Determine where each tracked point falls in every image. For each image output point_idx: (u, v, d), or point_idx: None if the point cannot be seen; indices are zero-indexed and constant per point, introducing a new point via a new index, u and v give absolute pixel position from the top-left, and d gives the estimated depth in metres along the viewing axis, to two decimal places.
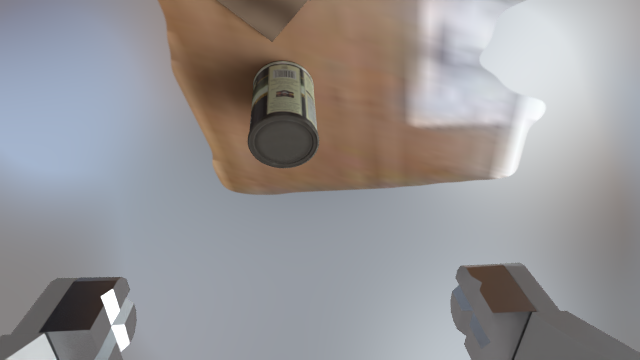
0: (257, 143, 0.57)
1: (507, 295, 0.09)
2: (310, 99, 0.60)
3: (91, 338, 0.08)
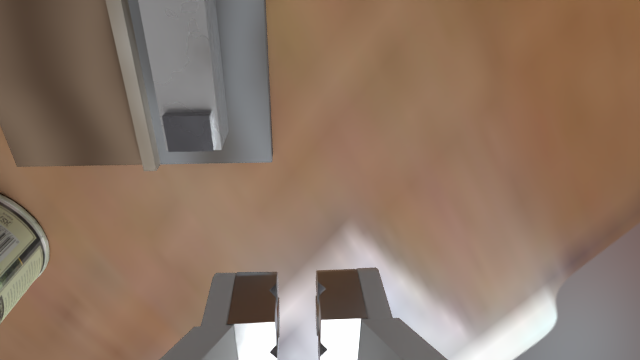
0: None
1: (344, 302, 0.08)
2: None
3: (271, 330, 0.08)
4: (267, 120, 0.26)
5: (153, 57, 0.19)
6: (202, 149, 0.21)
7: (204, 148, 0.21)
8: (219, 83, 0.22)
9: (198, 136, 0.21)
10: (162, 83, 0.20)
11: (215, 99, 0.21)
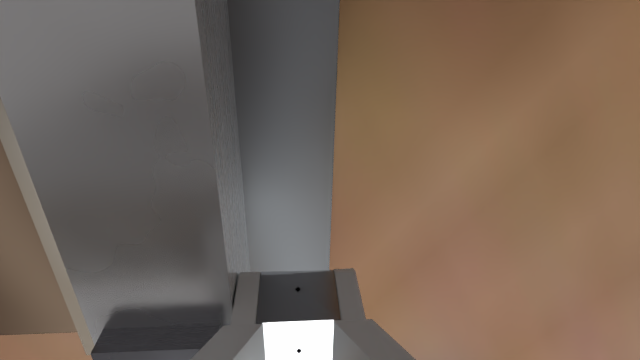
0: None
1: (318, 303, 0.08)
2: None
3: (299, 329, 0.08)
4: (324, 259, 0.14)
5: (59, 215, 0.07)
6: None
7: None
8: (238, 236, 0.09)
9: None
10: (90, 271, 0.07)
11: (230, 298, 0.08)
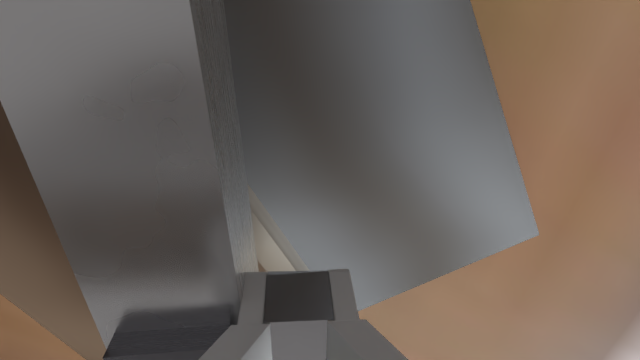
0: None
1: (312, 303, 0.08)
2: None
3: (306, 329, 0.08)
4: (513, 167, 0.12)
5: (65, 221, 0.07)
6: None
7: None
8: (245, 236, 0.09)
9: None
10: (99, 276, 0.08)
11: (239, 297, 0.08)
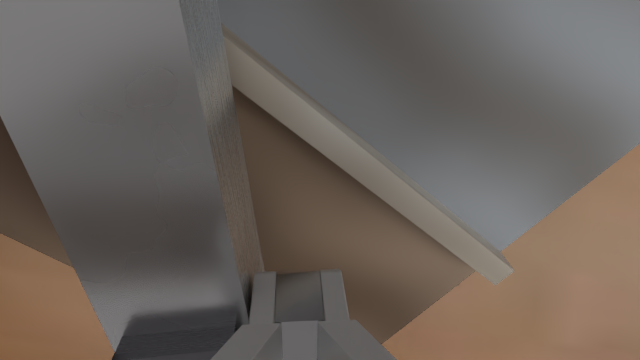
0: None
1: (303, 303, 0.08)
2: None
3: (317, 328, 0.08)
4: None
5: (68, 228, 0.07)
6: None
7: None
8: (248, 236, 0.09)
9: None
10: (104, 281, 0.08)
11: (243, 298, 0.08)
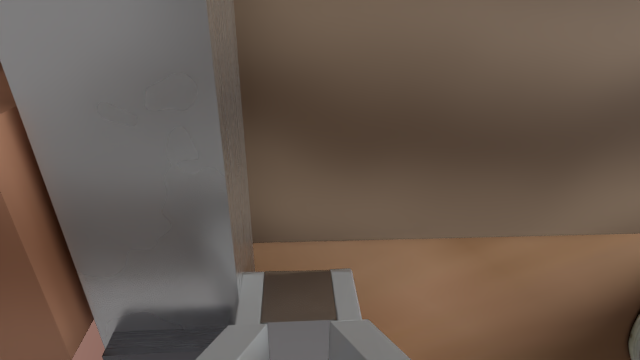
0: None
1: (314, 303, 0.08)
2: None
3: (303, 329, 0.08)
4: None
5: (72, 221, 0.07)
6: None
7: None
8: (245, 240, 0.09)
9: None
10: (102, 276, 0.08)
11: (238, 301, 0.08)
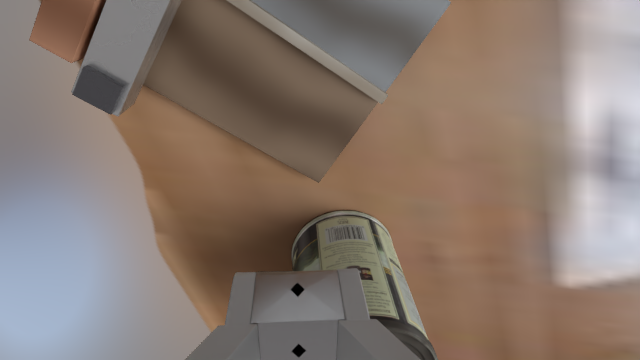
0: None
1: (322, 303, 0.08)
2: (400, 274, 0.32)
3: (294, 329, 0.08)
4: None
5: (102, 22, 0.23)
6: (102, 108, 0.25)
7: (104, 108, 0.25)
8: (145, 68, 0.26)
9: (104, 97, 0.24)
10: (98, 43, 0.24)
11: (134, 78, 0.25)
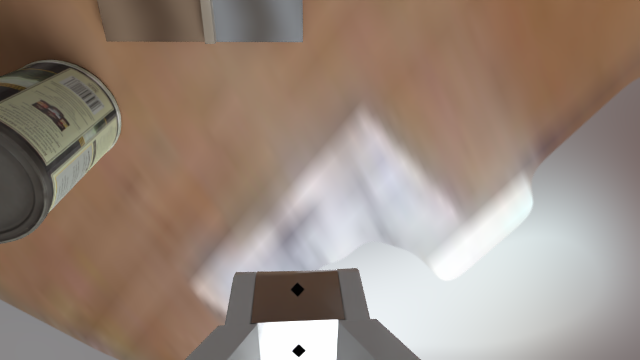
0: None
1: (322, 303, 0.08)
2: (88, 156, 0.33)
3: (294, 329, 0.08)
4: (300, 4, 0.34)
5: None
6: None
7: None
8: None
9: None
10: None
11: None
